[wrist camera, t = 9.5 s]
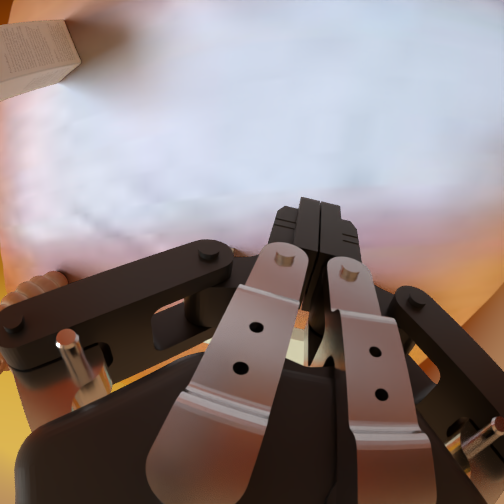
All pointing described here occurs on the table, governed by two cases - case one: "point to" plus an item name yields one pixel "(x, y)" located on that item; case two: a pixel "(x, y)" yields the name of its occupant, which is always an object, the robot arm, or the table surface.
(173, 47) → the table surface
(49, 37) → the skincare box
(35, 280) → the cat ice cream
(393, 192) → the table surface
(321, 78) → the table surface
